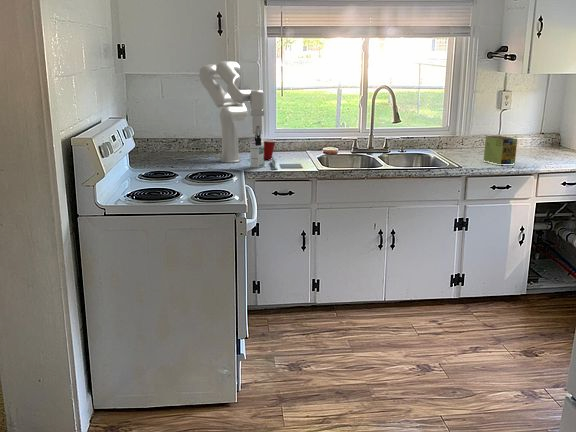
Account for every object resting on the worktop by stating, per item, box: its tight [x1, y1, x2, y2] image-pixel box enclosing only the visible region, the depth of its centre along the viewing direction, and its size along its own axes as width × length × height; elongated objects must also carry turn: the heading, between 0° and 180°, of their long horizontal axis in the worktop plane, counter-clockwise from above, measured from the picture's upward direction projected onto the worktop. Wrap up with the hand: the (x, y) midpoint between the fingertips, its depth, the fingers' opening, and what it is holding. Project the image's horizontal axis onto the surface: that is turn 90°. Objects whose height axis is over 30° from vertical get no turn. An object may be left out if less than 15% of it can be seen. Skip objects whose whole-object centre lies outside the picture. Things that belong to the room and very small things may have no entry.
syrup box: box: [249, 140, 265, 169], centre depth 334 cm, size 6×6×14 cm
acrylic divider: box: [269, 154, 278, 171], centre depth 336 cm, size 3×20×5 cm, turn 5°
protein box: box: [483, 135, 518, 164], centre depth 350 cm, size 10×15×16 cm
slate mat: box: [279, 163, 304, 169], centre depth 338 cm, size 12×12×1 cm
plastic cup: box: [261, 138, 277, 160], centre depth 359 cm, size 11×11×12 cm
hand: (258, 144), depth 332 cm, fingers open, 9 cm apart
